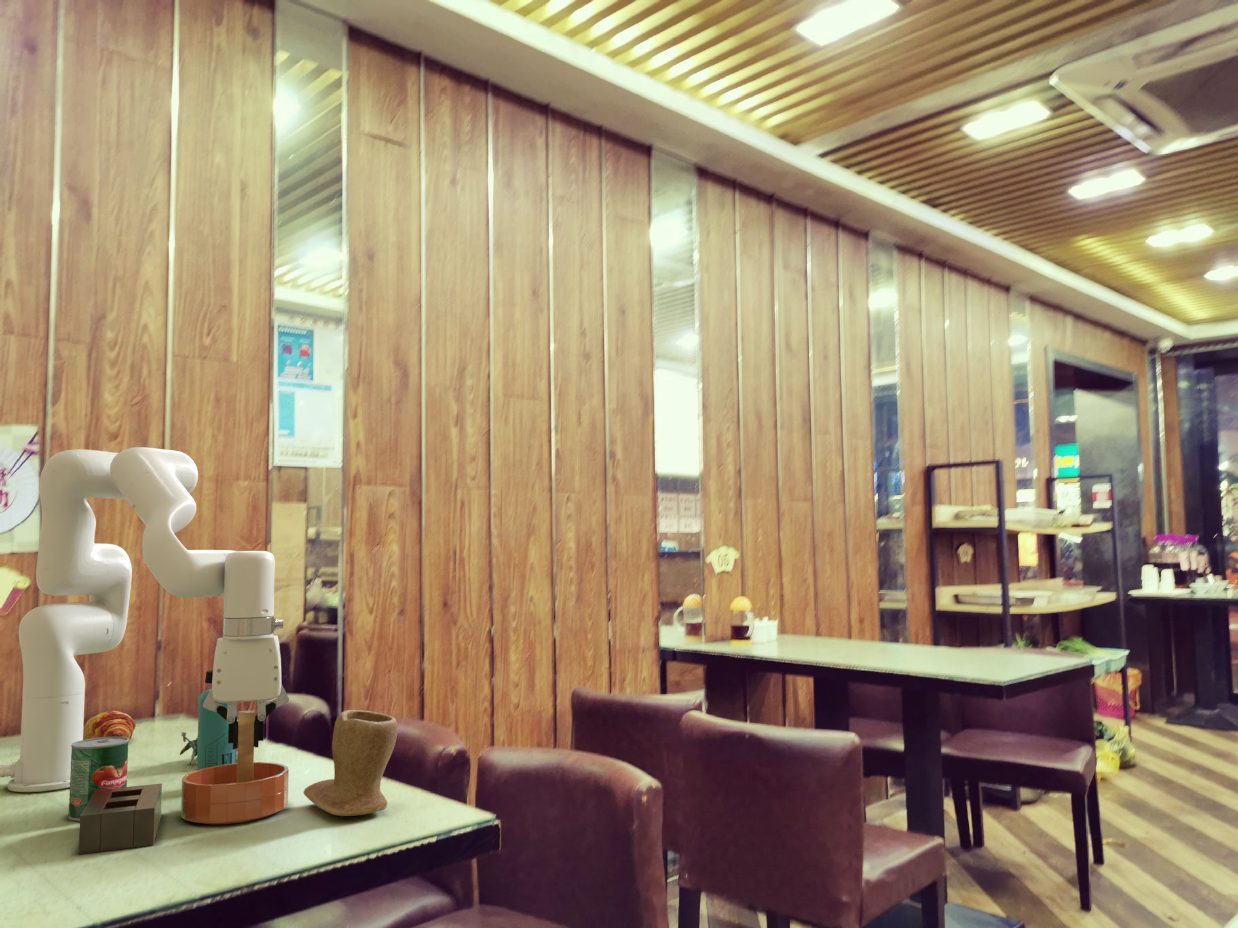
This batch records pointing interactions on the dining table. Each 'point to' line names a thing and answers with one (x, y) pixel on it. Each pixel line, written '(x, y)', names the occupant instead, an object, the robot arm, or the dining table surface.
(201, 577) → the robot arm
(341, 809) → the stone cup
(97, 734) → the croissant
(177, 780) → the dining table surface
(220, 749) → the beverage bottle
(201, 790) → the bowl
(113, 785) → the canned tomato
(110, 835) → the utensil stand
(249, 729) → the light brown wooden bar
